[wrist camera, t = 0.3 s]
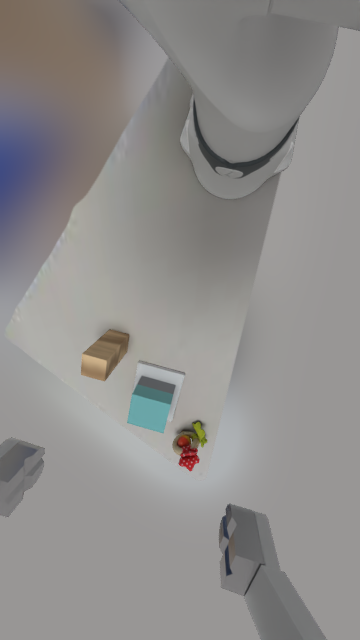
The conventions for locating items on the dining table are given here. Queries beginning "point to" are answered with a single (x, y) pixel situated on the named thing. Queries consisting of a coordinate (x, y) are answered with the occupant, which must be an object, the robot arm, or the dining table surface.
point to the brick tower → (154, 396)
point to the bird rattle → (189, 446)
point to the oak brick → (104, 355)
